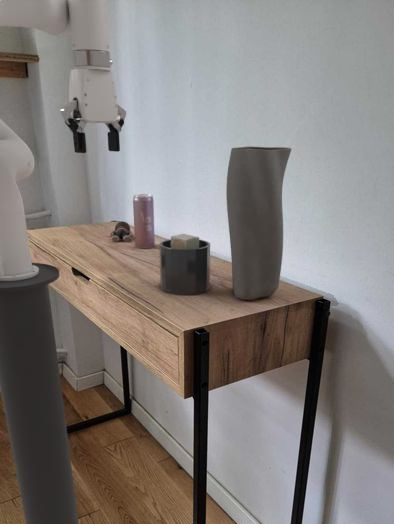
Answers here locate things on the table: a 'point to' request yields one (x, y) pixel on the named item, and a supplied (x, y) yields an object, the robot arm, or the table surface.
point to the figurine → (121, 232)
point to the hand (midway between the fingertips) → (97, 152)
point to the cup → (184, 268)
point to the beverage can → (143, 220)
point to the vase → (256, 218)
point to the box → (184, 242)
